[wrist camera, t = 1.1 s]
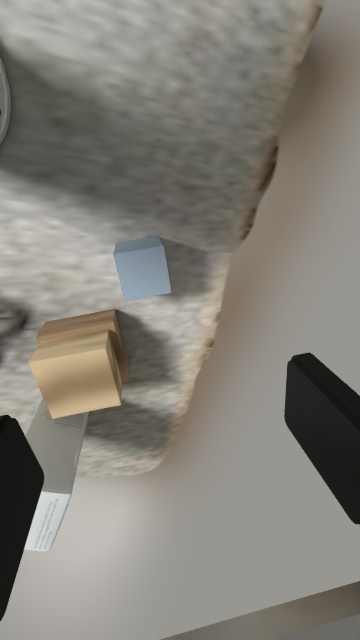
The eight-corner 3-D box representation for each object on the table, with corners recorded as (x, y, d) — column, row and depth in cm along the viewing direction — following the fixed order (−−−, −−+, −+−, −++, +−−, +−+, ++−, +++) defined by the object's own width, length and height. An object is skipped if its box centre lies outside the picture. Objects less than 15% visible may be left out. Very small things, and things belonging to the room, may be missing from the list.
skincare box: (78, 432, 39) (52, 555, 26) (33, 425, 37) (-20, 553, 24) (95, 386, 36) (75, 498, 23) (47, 376, 34) (-4, 490, 21)
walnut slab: (46, 321, 32) (36, 337, 28) (115, 308, 33) (113, 322, 29) (68, 375, 35) (61, 396, 32) (129, 362, 36) (129, 381, 32)
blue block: (116, 243, 29) (113, 254, 24) (157, 236, 30) (163, 245, 24) (125, 282, 31) (124, 301, 26) (164, 275, 32) (171, 292, 26)
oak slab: (41, 341, 28) (28, 362, 25) (108, 329, 29) (105, 348, 26) (61, 393, 32) (52, 418, 28) (121, 381, 32) (120, 404, 29)
